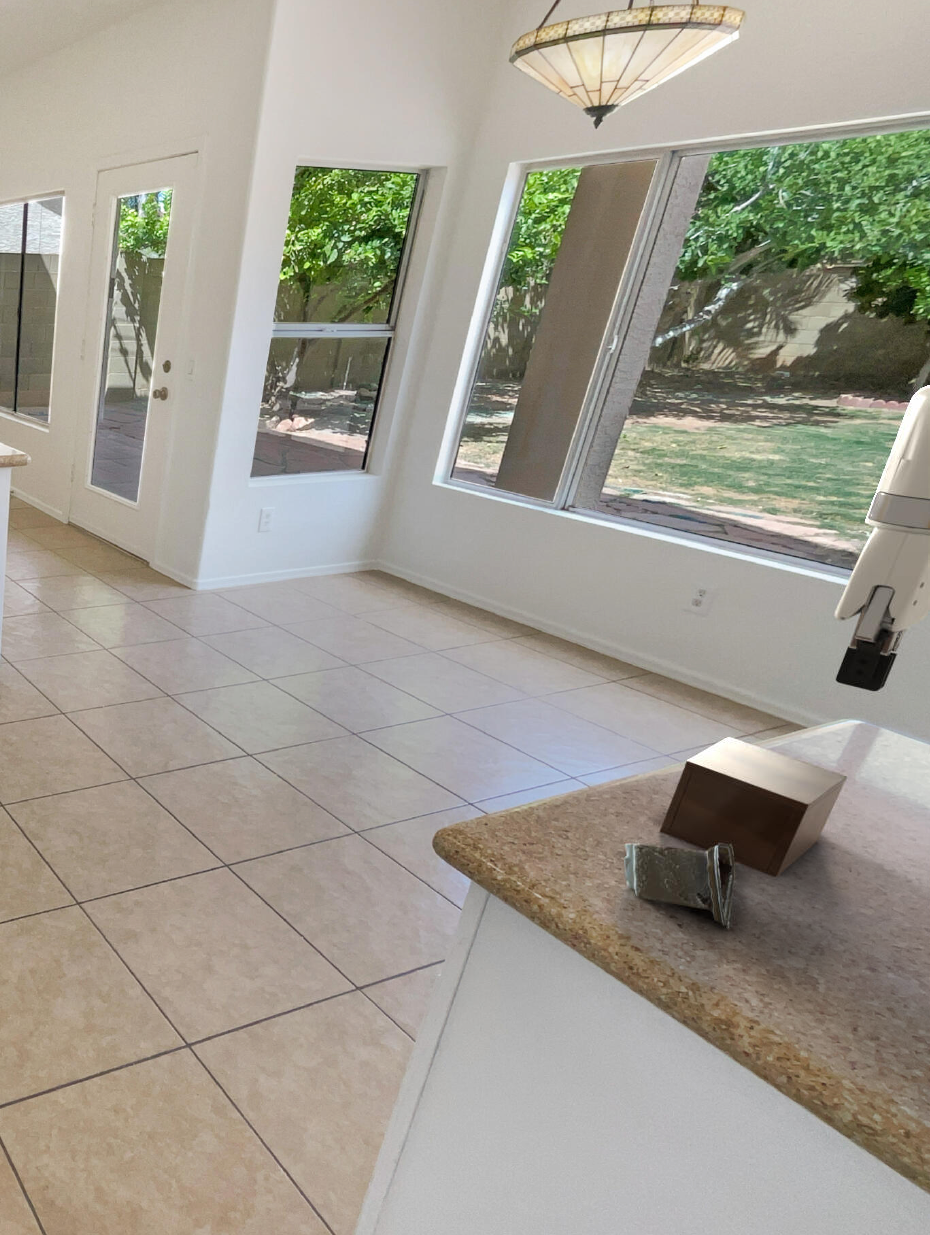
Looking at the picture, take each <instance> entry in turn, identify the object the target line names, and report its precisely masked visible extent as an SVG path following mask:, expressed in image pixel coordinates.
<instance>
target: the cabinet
mask: <svg viewBox="0 0 930 1235" xmlns="http://www.w3.org/2000/svg"><path fill="white" fill-rule="evenodd" d="M847 779H848V776H847V775H844V774H842V773H839V772H835V771H833V770H830V769H828V768H827V769H826V768H823V767H821V766H817V765H816V764H815V765H814V764H812V763H808V762H806V761H802V760H799V759H796V758H794V757H791V756H788V755H785V754H782V753H778V752H776V751H772V750H769V749H766V748H765V747H760V746H758V745H754V744H752V743H749V742H745V741H742V740H739V739H736V738H734V737H730V736H729V737H727V738H724V739H723V740H721V741H719V742H717V743H715V744H714V745H712V746H710V747H708V748H707V749H705V750H703V751H701V752H700V753H698V754H697V755H695V756H693V757H691V758H689V759H687V760H686V762H685V764H684V767H683V770H682V772H681V775H680V778H679V780H678V782H677V784H676V788H675V791H674V793H673V795H672V797H671V801H670V803H669V806H668V808H667V811H666V814H665V815H664V816H665V817H664V819H663V822H662V824H661V827H660V829H659V832H660V833H663V834H665V835H667V836H670V837H672V838H676V839H678V840H680V841H683V842H685V843H688V844H690V845H693V846H695V847H698V848H700V849H703V850H704V851H707V850H708V849H710V848H711V847H715V846H717V845H718V844H719V843H724V844H728V845H729V844H731V846H732V847H733V848H732V849H733V858H734V863H738V864H740V865H743V866H746V867H748V868H751V869H753V870H756V871H758V872H761V873H764V874H765V875H768V876H771V877H773V878H777V877H779V875H781V874H782V873H783V872H784V871H785V870H786V869H787V868H789V867H790V866H791V865H793V863H794V862H795V861H797V859H798V858H800V857H801V856H802V855H803V854H804V853H805V852H807V851H808V850H809V849H810V848H811V847H813V845H815V844H816V843H817V842H818V841H819V838H820V836H821V834H822V832H823V829H824V827H825V826H826V824H827V821H828V819H829V817H830V814H831V812H832V810H833V809H834V806H835V804H836V802H837V800H838V797H839V795H840V793H841V791H842V789H843V787H844V785H845V783H846V780H847Z"/></svg>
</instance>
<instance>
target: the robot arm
mask: <svg viewBox="0 0 930 1235" xmlns="http://www.w3.org/2000/svg"><path fill="white" fill-rule="evenodd" d="M864 523H866V524H867V525H869V526H872V527H874V529H873V531H872V533H871V534H870V536H869V538H868V540H867V541H866V543H865V545H864V547H863V548H862V551H861V553H860V555H859V557H858V559H857V560H856V564H855V566H854V568H853V571H852V573H851V574H850V577H849V579H848V582H847V584H846V587H845V588H844V591H843V593H842V595H841V598H840V599H839V602H838V604H837V606H836V609H835V610H834V611H835V612H834V618H835V619H836V620H837V621H840V622H845V621H847V620H848V619H849V620H850V619H851V618H853V617H855V616H857V615H859V617H858V620H857V623H856V626H855V628H854V629H855V630H854V631H853V633H852V634H853V635H852V636H851V639H850V643H849V645H848V646H847V648H846V651H845V654H844V656H843V659H842V661H841V664H840V666H839V668H838V671H837V674H836V676H835V681H836V682H837V683H839V684H842V685H846V686H849V687H853V688H858V689H862V690H866V691H871V692H878V691H879V690H881V689H883V688H884V687H885V685H886V683H887V680H888V678H889V675H890V673H891V671H892V667H893V665H894V664H895V660H896V658H897V656H898V653H896V652H897V651H898V649H899V647H900V645H901V642H902V640H903V638H904V636H905V633H906V631H907V629H908V628H910V627H912V626H914V625H916V624H917V623H920V621H922V620H923V619H925V618H926V617H927V616H928V614H929V612H930V385H927V386H924V387H922V388H920V389H919V390H918V391H917V392H915V394H914V395H913V396H912V397H911V400H910V401H909V404H908V406H907V409H906V411H905V414H904V416H903V419H902V422H901V424H900V428H899V430H898V433H897V436H896V439H895V441H894V444H893V447H892V449H891V453H890V455H889V457H888V460H887V462H886V465H885V468H884V470H883V473H882V476H881V478H880V481H879V484H878V486H877V490H876V493H875V495H874V497H873V500H872V502H871V505H870V508H869V511H868V513H867V516H866V519H865V521H864Z"/></svg>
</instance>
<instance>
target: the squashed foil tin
mask: <svg viewBox="0 0 930 1235" xmlns="http://www.w3.org/2000/svg"><path fill="white" fill-rule="evenodd" d="M624 848H625V851H626V856H625V857H624V858H623V860H624V879H625V880H626V885H627V887H628V888H629V889H630V890H633V891H634V892H635V895H636V897H637V898H638V899H643V900H647V901H653V902H663V903H666V904H669V905H671V904H672V905H677V906H684V907H689V908H694V909H703V910H708V911H710V912H711V913H712V915H713V918H714V919H713V920H714V921H716V922H717V923H719V924H721V925H723V926H725V928H726V929H728V930H729V929H730V928H729V927H730V925H731V922H730V921H729V919H731V908H732V906H733V903H732V901H734V900H733V891H734V885H735V882H736V878H735V877H736V875H735V861H734V858H733V849H732V848H733V847H732V846H731V844H729V845H728V844H724V843H719V844H718V845H717V846H715V847H711V848H710V849H708V850H697V849H690V848H689V849H688V848H681V847H673V846H660V845H656V844H649V843H625V845H624Z"/></svg>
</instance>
